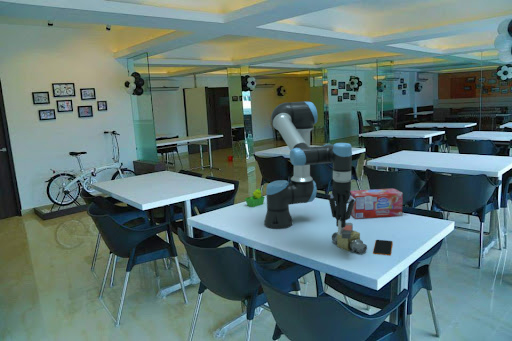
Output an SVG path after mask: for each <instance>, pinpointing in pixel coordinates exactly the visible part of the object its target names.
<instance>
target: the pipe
mask: <svg viewBox="0 0 512 341" xmlns="http://www.w3.org/2000/svg"><path fill="white" fill-rule="evenodd" d="M331 241H332V242H334V245H336V246H337V247H338V248H339V249H342V250H344V251H345V252H352V253H354V254H355V253H358V254H361V255H363V254H365V253H366V252H367V249H368V247H367V244H366V243H364V242H363V240H362V239H361V233H360V232H358V231H356V230H353V232H352V233H351V238H350V239H344V238H342V235H338V231H337V232H334V233H333V234H331Z"/></svg>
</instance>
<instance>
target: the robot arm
mask: <svg viewBox="0 0 512 341" xmlns="http://www.w3.org/2000/svg"><path fill="white" fill-rule="evenodd" d="M318 119H319V118H318V110H317V107H316V105H315V104H314V103H313V102H311V101H294V102H293V101H291V102H282V103H280V104H278V105H277V106H276V107H274V108H273V110H272V113H271V115H270V121H271V125H272V126H273V128H274V129H275V130H277V131H278V132H279V134H280V136H281V138H282V139H283V141H284V142H285V144H286V145H287V147H288V148H289V160H290V163H291V165H293V176H291V177H290V182H289V181H288V180H286V179H285V180H284V179H282V180H279V179H278V180H274V181H271V182H270V183H268V184H266V191H265V194H266V195H265V196H266V214H265V217H264V222H263V223H264V224H263V225H264V227H266V228H268V229H276V230H277V229H279V230H280V229H287V228H289V227H291V226H293V218H292V215H291V212H290V209H289V208H290V207H289V206H290V205H296V204H297V205H298V204H307V203H311V202H313V201H314V200H315V198H316V196H317V192H318V189H317V183H316V181H315V180H313V177H312V176H311V165H321V164H332V191H331V193H330V194H328V195H326V197H327V199H328V201H329V207H330V211H331V216H332V217H333V218H334V219H336V220H335V221H336V227H337V232H338V235H342V232H343V230H344V227H345V226H346V223H347V222H346V221H347V220H349V219H351V217H352V215H351V213H352V209H353V206H354V203H355V202H356V198H353V197H352V196H351V192H350V191H352V181H351V180H352V164H353V163H352V161H353V160H352V158H353V152H352V150H353V149H352V148H353V146H352V144H351V143H348V142H347V143H346V142H336V143H334V144H323V145H320V146H311V131H312V130H313V129H314V125H315V124H317V122H318Z"/></svg>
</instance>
